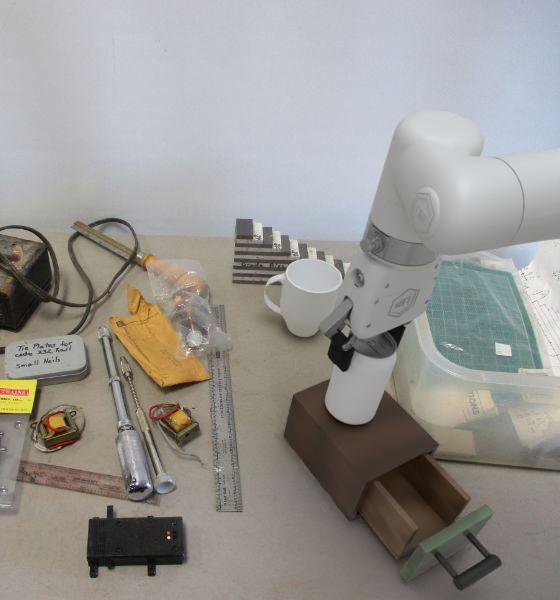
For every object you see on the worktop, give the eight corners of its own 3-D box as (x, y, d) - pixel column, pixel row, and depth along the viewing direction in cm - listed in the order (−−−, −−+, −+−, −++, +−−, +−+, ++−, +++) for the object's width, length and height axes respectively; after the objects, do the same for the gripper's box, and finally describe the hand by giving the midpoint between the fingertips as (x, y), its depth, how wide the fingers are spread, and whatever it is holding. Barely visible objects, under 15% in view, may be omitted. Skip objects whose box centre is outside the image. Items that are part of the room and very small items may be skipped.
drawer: (498, 574, 70) (526, 544, 64) (433, 616, 66) (457, 588, 61) (392, 458, 81) (408, 424, 76) (332, 489, 78) (345, 456, 73)
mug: (329, 315, 104) (343, 261, 96) (326, 350, 97) (341, 297, 89) (263, 303, 106) (271, 250, 98) (256, 337, 100) (264, 284, 92)
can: (346, 380, 80) (367, 315, 73) (385, 411, 76) (412, 345, 69) (313, 402, 77) (332, 336, 70) (352, 435, 74) (376, 369, 66)
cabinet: (417, 485, 79) (439, 444, 73) (349, 521, 76) (366, 482, 69) (346, 406, 89) (360, 364, 83) (282, 435, 85) (292, 394, 79)
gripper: (361, 283, 54) (324, 400, 67) (494, 232, 60) (437, 349, 72) (311, 239, 59) (285, 356, 71) (438, 195, 65) (394, 311, 77)
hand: (362, 351), depth 72 cm, fingers open, 6 cm apart
